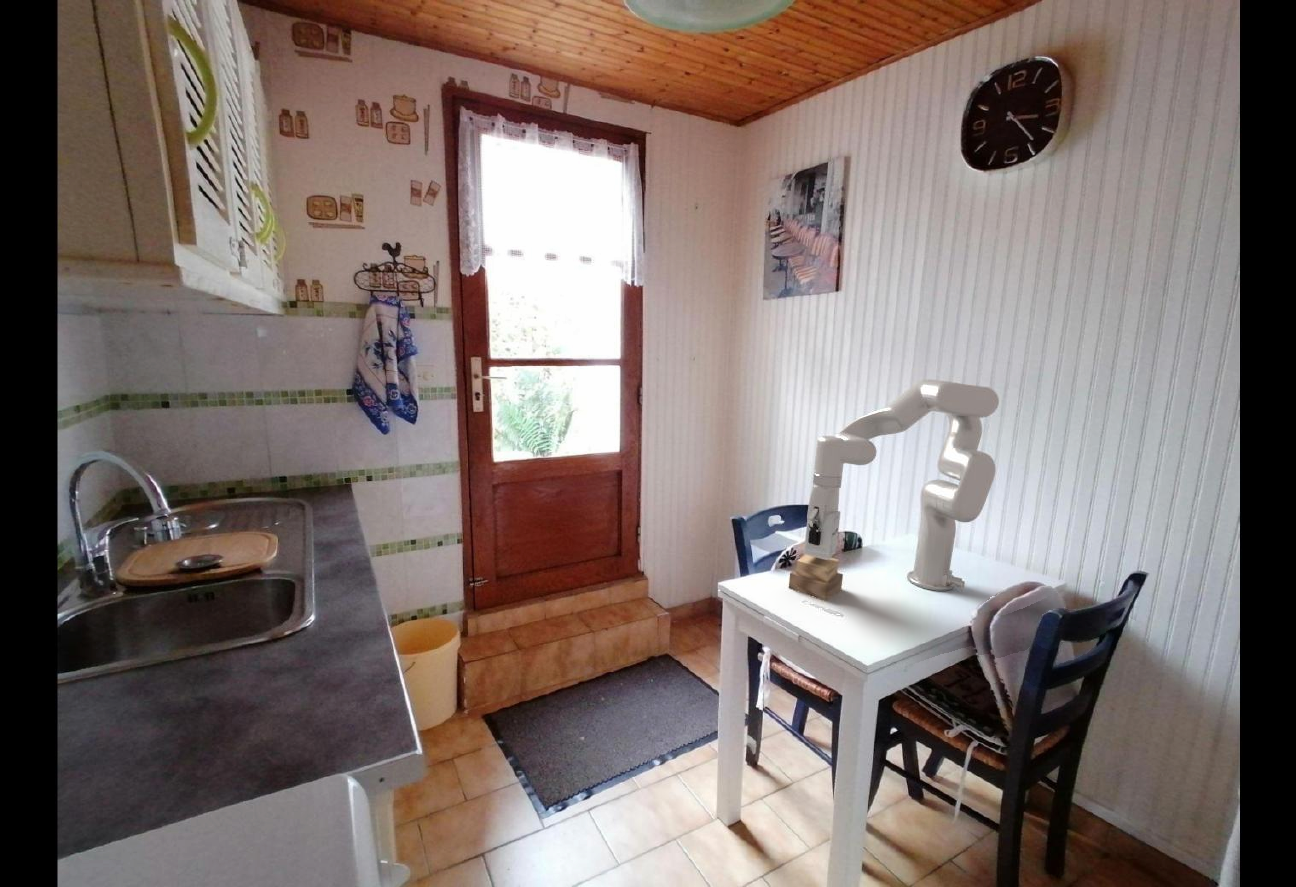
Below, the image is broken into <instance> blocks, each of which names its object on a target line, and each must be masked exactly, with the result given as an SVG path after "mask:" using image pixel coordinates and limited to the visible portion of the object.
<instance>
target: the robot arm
mask: <svg viewBox="0 0 1296 887" xmlns="http://www.w3.org/2000/svg"><path fill="white" fill-rule="evenodd" d="M999 402H1000V399H999V396H998V394H997V392H996V391H995V390H994V389H992V388H991V387H988V386H980V385H973V384H972V385H971V384H965V383H958V382H953V381H945V380H938V379H923V380H922V379H921V380H920V381H918V382H916V383H915V384H914V385H912V386H911V387H909V389H907V390H906V391H904V392H903V393H902V394H901V395H899V396H898V397H897V398H895V399H894V400H893V401H892V402H890V403H889V404H888V405H886V406H885V407H883V408H881V409H878V410H875V411H872V412H871V413H868V414H866V415H863V416H861V417H859V418H857V419H855V420H853V421H852V422H850V423H849V424H847V425H846V426H845V427H843V428H842V429H841V430H840V431H839V432H837V433H836V434H835V435H834V436H832V435H822V436H820V437H818V438H817V441H816V442H817V443H816V449H815V459H814V468H813V478H812V488H811V492H810V497H809V502H808V509H807V516H806V517H807V518H806V519H808V522H809V539H808V542H809V543H810V544H814V545H817V546H818V545H820V538H821V532H820V529H821V526H822V523H824V522H825V519H826V516H827V515H829V514H831V513H834V512H836V511H839V501H840V488H842V481H843V471H844V470H843V469H844V464H848V465H855V466H865V465H869V464H871V463H872V462H874V460H875V458H876V457H877V448H876V446H875V444H874V443H873V442H872V441H870V440H871V439H873V438H877V437H880V436H887V435H894V434H899V433H903V432H906V431H907V430H908V429H910V428H911V427H912V426H914V425H915V424H916V423H917V422H919V421H920V420H921V419H922V418H924V417H925V416H927V415H928V414H929V413H931V412H936V413H944V414H946V415H947V418H948V424H949V425H948V430H947V434H946V438H945V441H944V443H943V446H942V448H941V452H940V454H939V456H938V461H937V470H938V471H939V472H940V473H941V474H942V475H944V476H945V477H948V478H952V479H954V480H957V481H959V483H958V484H956V483H953V482H950V481H947V480H944V479H933V480H930V481H928V482H927V483H925V484H924V486H923V487H922V489H921V492H920V501H919V502H920V523H919V530H918V531H919V532H918V536H917V544H916V552H915V558H914V565H913V570H911V571H909V572H907V573H906V574H907V575H906V578H907V581H908V582H910V583H912V584H913V585H914V586H917V587H920V588H923V589H926V590H931V591H938V592H946V591H947V592H948V591H950V590H953V588H954V586H957V587H959V588H964V586H965V581H964V580H963V578H961V577H956V576H955V575H953V570H951V566H952V565H951V564H952V557H953V552H954V543H955V539H956V533H957V525H956V522H960V523H971V522H973V521H975V520H976V519H977V518H978V516H980V514H981V512H982V510H983V508H984V506H985V504H986V501H987V498H988V496H989V493H990V491H991V488H992V485H993V482H994V480H995V476H996V463H995V461H994V459H993V457H992V456H991V455H989V454H988V453H986V452H984V451H980V450H978V448H979V444H980V442H981V438H982V435H983V426H982V421H981V418H982V419H983V418H987V417H989V416H992V414H994V413H995V412H996V411H997V409H998V407H999ZM818 514H819V518H821V519H820V520H817V519H815V518H816V517H817V515H818ZM815 522H817V523H819V524H818V526H817V525H816V523H815Z"/></svg>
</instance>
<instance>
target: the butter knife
mask: <svg viewBox="0 0 1296 887" xmlns="http://www.w3.org/2000/svg"><path fill="white" fill-rule="evenodd" d="M804 602H809V601H807V600H806V599H805V600H802V601H801V603H804ZM809 606H811V607H814V606H815V608H817V609H819V608H822V611H823V610H824V612H826V613H828V614H830V615H832V614H834V615H833V616H835V615H836V614H840V615H836V617H838V616H841V617H843V616H844V614H843V613H842V612H840V611H837V610H834V609H831V608H828V609H825V608H826V607H824V606H820V605H818V604H815V603H813V604H812V605H811V604H810V605H809ZM842 614H843V615H842Z"/></svg>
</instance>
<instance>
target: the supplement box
mask: <svg viewBox="0 0 1296 887" xmlns="http://www.w3.org/2000/svg"><path fill="white" fill-rule="evenodd" d="M806 519H807V520H806V521H807V522H806V530H805V539H804V548H803V555H809V556H813V557H817V558H821V559H825V560H829V559H830V558H832V557H833V556H834V555H835V554H836V552H837V546H838V545H837V544H838V538H839V529H840V520H841V511H839V510H838V511H836V512H834V513H831V514H829V515H827V516H826V519H825V522H824V523H822V526H821V529H820V532H821V538H820V545H818V546H817V545H814V544H810V543H809V542H808V539H809V522H808V518H806ZM815 519H817V520H820V519H821V518H819V514H818V515H817V517H816V518H815ZM815 523H816V525H817V526H818V524H819V523H817V522H815Z"/></svg>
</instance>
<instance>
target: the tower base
mask: <svg viewBox="0 0 1296 887" xmlns="http://www.w3.org/2000/svg"><path fill="white" fill-rule="evenodd" d="M843 576H844V574H843V573H842V572H838V571H837V574H836V575H835V576H834V577H833V578H832V579H831V580H830V581H829V582H828V583H826V582H822V581H819V580H815V579H812V578H808V577H805V576H801V575H798V574H796V569H794V570H793V571H791V572H789V579H788V580H789V581H788V589H790V590H792V589H793V590H792V591H794V592H795V591H796V592H798V591H799V593H801V592H802V593H801V594H804V593H805V594H804V595H807V596H809V595H810V597H812V596H814V597H813V598H815V597H816V599H818V598H819V599H818V600H821V599H822V600H821V601H823V600H824V601H823V602H826V601H827V600H828V599H830V598H831V597H832V596H834V595H836V594H837V593H838V592H840V591H841V590H842V586H843V580H844V577H843ZM840 589H841V590H840ZM839 590H840V591H839ZM837 591H838V592H837ZM836 592H837V593H836ZM829 597H830V598H829Z"/></svg>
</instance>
